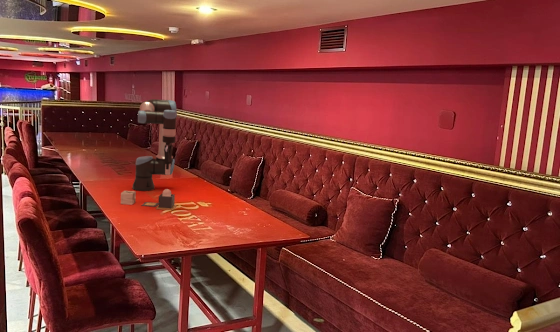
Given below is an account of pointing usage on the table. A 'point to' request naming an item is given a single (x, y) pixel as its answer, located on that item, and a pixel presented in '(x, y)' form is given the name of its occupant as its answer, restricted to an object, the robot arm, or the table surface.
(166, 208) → the button box
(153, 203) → the pad
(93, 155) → the table surface
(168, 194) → the dome plunger
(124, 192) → the die
